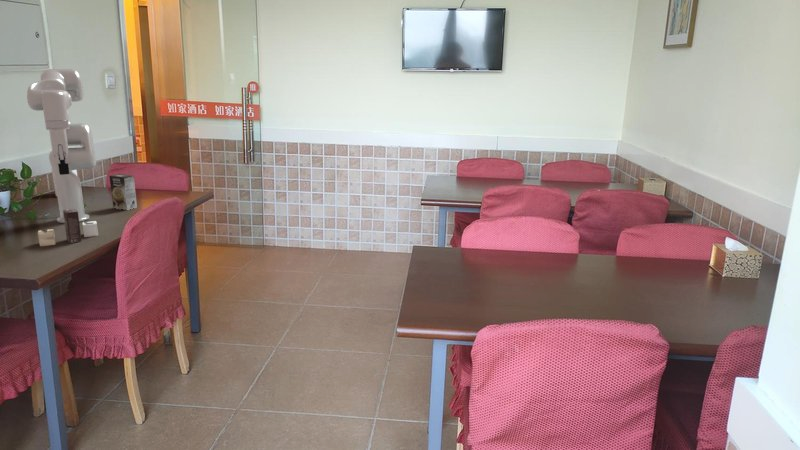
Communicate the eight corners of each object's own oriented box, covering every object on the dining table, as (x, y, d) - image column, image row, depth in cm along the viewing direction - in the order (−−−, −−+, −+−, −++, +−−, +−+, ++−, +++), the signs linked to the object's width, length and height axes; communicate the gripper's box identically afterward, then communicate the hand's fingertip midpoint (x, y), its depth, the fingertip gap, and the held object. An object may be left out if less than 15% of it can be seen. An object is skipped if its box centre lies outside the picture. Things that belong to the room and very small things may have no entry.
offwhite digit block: (84, 234, 234) (82, 221, 233) (97, 232, 237) (96, 220, 235) (84, 237, 230) (82, 224, 229) (98, 235, 233) (96, 223, 231)
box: (82, 241, 225) (78, 211, 222) (69, 243, 222) (65, 213, 219) (79, 237, 229) (74, 208, 226) (66, 239, 226) (61, 210, 223)
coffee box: (112, 208, 276) (108, 175, 272) (123, 206, 282) (119, 173, 277) (127, 210, 273) (123, 176, 268) (137, 207, 278) (134, 174, 274)
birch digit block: (40, 243, 222) (38, 229, 221) (55, 241, 225) (53, 228, 223) (40, 246, 218) (37, 233, 217) (55, 244, 220) (53, 231, 219)
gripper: (46, 124, 218) (53, 172, 223) (44, 127, 206) (52, 178, 210) (68, 123, 222) (75, 170, 227) (68, 126, 209) (76, 176, 214)
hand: (64, 174), depth 218 cm, fingers closed
